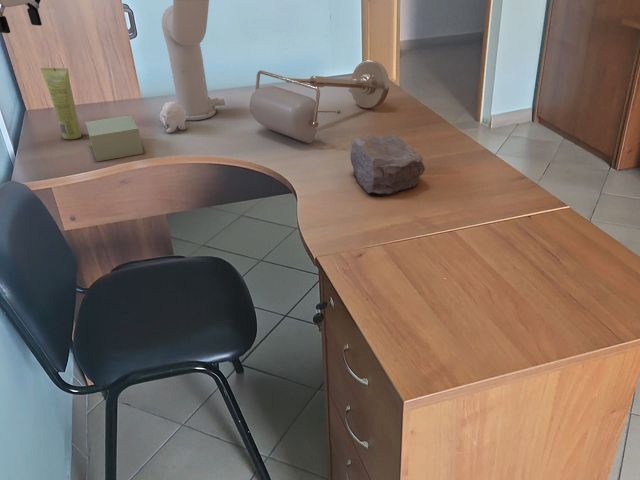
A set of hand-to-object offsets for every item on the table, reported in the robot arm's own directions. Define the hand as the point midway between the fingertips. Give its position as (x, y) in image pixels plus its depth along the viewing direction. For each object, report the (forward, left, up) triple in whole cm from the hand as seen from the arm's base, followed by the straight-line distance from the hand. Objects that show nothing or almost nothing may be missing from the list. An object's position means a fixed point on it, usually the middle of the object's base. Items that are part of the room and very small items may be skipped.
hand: (21, 28), depth 153 cm
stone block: (-71, +70, -30) cm, 104 cm away
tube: (-5, +2, -30) cm, 30 cm away
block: (-15, +18, -30) cm, 38 cm away
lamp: (-75, +25, -30) cm, 84 cm away
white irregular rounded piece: (-32, +8, -30) cm, 44 cm away
